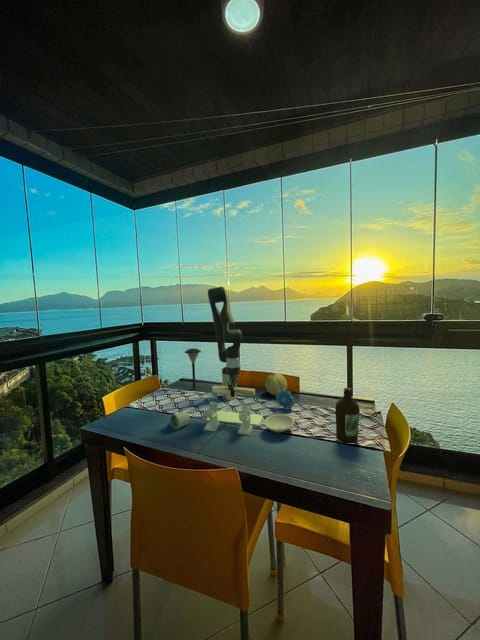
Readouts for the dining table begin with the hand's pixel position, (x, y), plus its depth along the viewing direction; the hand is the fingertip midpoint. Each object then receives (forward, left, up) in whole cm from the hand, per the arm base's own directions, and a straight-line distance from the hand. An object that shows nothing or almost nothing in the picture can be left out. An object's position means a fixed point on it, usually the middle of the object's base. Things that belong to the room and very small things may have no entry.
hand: (233, 395), depth 157 cm
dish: (+9, +27, -13) cm, 31 cm away
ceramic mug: (+14, -27, -13) cm, 33 cm away
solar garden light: (-39, -41, -13) cm, 59 cm away
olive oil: (+11, +59, -13) cm, 61 cm away
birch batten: (0, 0, +1) cm, 1 cm away
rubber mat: (0, +1, -13) cm, 13 cm away
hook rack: (+12, +1, -13) cm, 18 cm away
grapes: (-18, +27, -13) cm, 35 cm away
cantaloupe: (-41, +19, -13) cm, 47 cm away
